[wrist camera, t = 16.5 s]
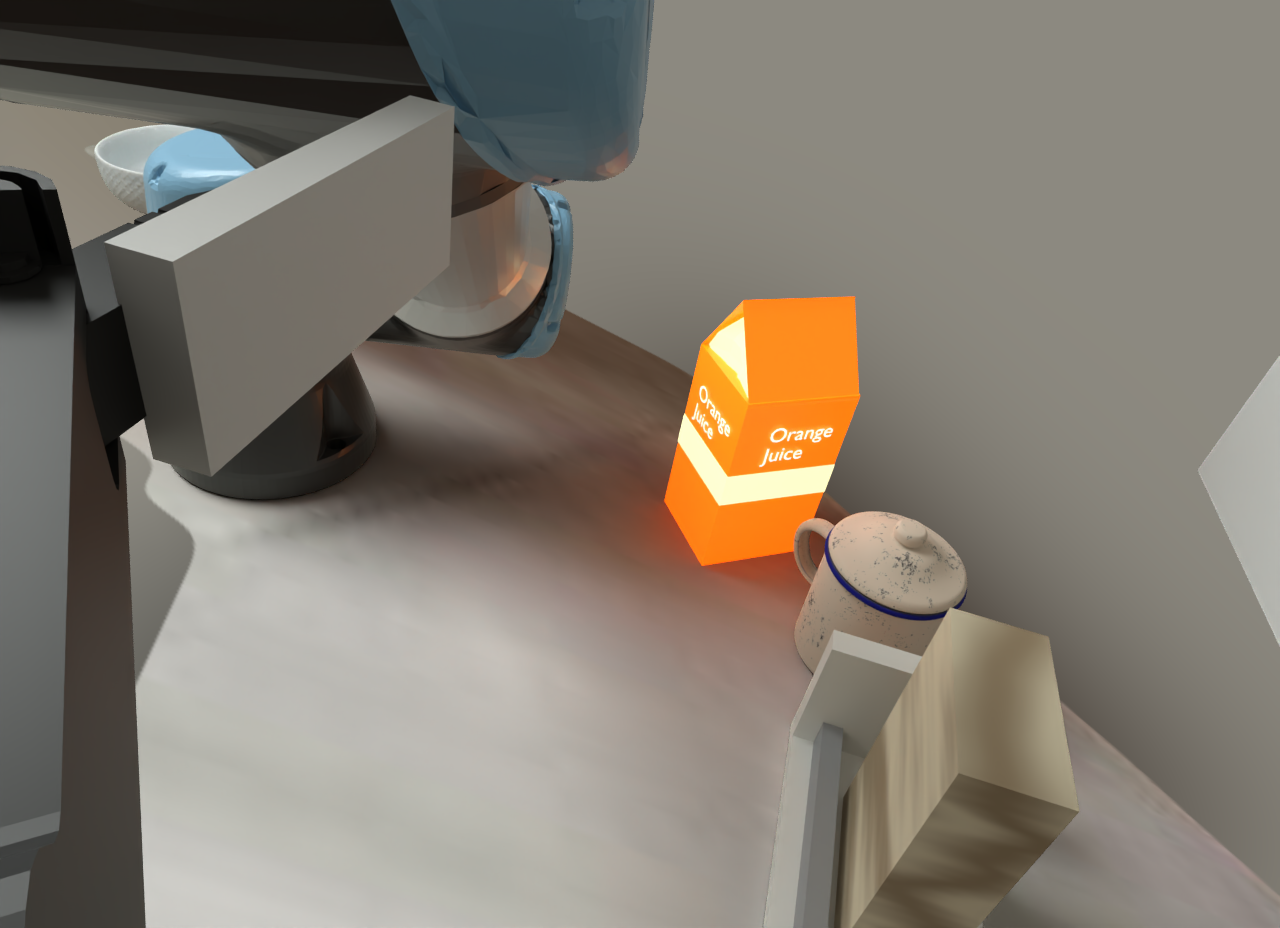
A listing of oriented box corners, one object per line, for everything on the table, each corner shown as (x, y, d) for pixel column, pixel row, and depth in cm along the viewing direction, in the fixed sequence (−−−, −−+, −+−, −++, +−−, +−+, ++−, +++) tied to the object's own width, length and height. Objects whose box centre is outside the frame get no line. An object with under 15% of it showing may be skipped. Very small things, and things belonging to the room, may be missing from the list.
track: (983, 1074, 40) (1074, 996, 34) (753, 993, 41) (807, 905, 36) (965, 781, 52) (1030, 689, 47) (790, 725, 54) (833, 629, 48)
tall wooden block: (831, 957, 42) (958, 772, 32) (843, 797, 49) (950, 607, 39) (922, 989, 41) (1079, 811, 32) (921, 823, 49) (1048, 636, 39)
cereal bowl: (289, 191, 103) (284, 131, 99) (266, 251, 91) (259, 185, 86) (133, 176, 99) (121, 113, 95) (85, 237, 87) (69, 168, 82)
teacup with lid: (944, 671, 59) (1016, 550, 52) (859, 728, 54) (926, 602, 47) (821, 561, 66) (870, 441, 59) (735, 603, 61) (777, 477, 54)
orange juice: (802, 551, 67) (889, 325, 55) (701, 567, 64) (769, 331, 51) (757, 487, 72) (827, 269, 60) (662, 499, 69) (715, 271, 57)
